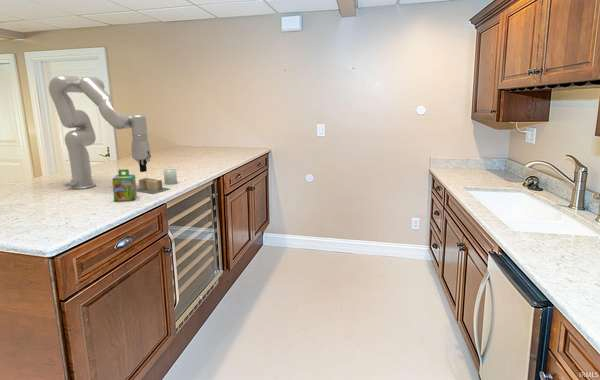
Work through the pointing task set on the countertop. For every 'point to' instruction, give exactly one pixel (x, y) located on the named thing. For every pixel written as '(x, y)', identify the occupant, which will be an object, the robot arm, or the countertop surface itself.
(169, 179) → the white small cylinder
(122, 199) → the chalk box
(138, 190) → the mat
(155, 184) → the block
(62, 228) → the countertop surface
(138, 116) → the robot arm
